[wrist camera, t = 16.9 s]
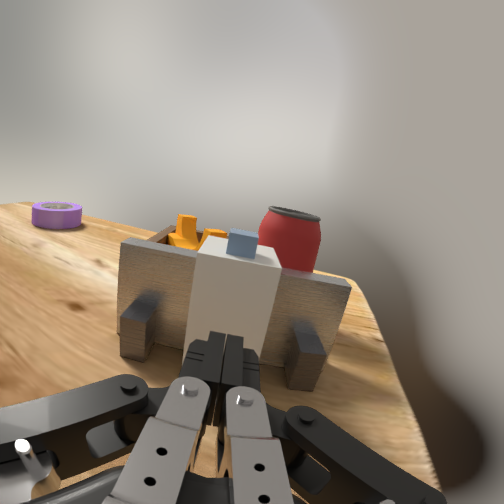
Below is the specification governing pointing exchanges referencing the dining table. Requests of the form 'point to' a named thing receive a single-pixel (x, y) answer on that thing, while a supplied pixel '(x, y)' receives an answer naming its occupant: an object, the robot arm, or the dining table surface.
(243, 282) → the white rectangular block
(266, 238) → the beer can
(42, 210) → the masking tape
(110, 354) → the dining table surface
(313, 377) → the rail
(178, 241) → the pipe clamp
